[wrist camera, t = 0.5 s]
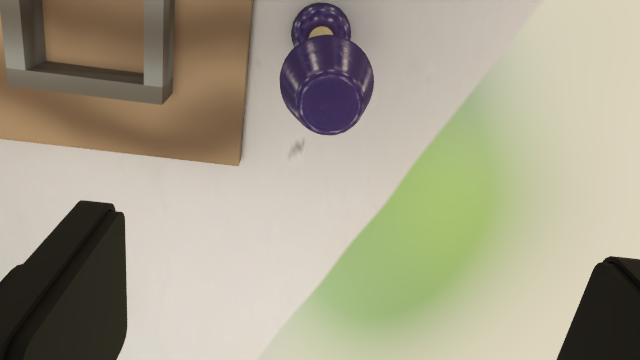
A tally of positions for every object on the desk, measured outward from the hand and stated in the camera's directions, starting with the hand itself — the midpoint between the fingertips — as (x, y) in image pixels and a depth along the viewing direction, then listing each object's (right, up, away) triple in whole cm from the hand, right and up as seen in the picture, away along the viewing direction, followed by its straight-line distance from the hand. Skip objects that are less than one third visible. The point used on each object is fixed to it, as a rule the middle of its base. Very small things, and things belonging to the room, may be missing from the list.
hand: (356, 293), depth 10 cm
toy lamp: (-1, +13, +28) cm, 30 cm away
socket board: (-16, +14, +26) cm, 34 cm away
